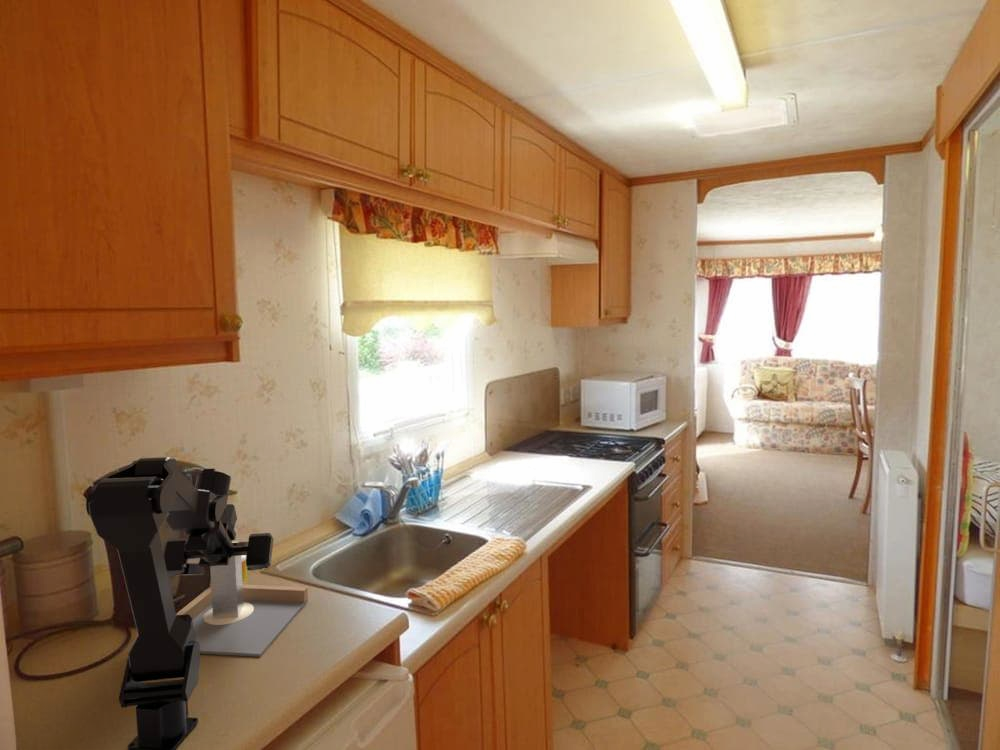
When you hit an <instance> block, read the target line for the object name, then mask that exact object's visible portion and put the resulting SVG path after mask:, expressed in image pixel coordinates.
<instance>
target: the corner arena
mask: <svg viewBox="0 0 1000 750" xmlns="http://www.w3.org/2000/svg"><path fill="white" fill-rule="evenodd" d="M308 593H309V591H308V587H307V586H284V585H282V586H281V585H264V584H263V585H261V584H248V585H243V602H244V606H243V608H242V610H241V612H240V614H239V616H238V617H235V618H223V619H213V608H212V590H211V585H210V586H209V587H208V588H207V589H205V590H204V591H202V593H200V594H199V595H198V596H196V597H195V598H194V599H193V600H191V601H190V602H189V603H188V604H187V605H186V606H184V607H183V608H182V609H180V610H179V611H178V612H177V613H176V615H185V614H189V615H190V616H191V618H192V621H193V628H194V631H195V633H196V635H195V638H196V641H198V642H199V645H200V654H203V655H204V654H205V655H221V656H222V655H223V656H239V657H240V656H241V657H260V658H261V657H262V656H263V655H264V654H265V653H266V651H267V650H268V649H269V648H270V647H271V645H272V644H273V643H274V642H275V641H276V639H277V638H278V637H279V636H280V635H281V633H282V632H283V631H284V630H285V629H286V628H287V627H288V625H289V624H290V623H291V622H292V621H293V620H294V618H295V617H296V616H297V614H299V613H300V612H301V610H302V609H303V608H304V607H303V606H306V605H307V603H308V602H307V601H309V596H308V595H309V594H308ZM306 602H307V603H306ZM302 607H303V608H302ZM301 608H302V609H301Z"/></svg>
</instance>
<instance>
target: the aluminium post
mask: <svg viewBox="0 0 1000 750" xmlns="http://www.w3.org/2000/svg"><path fill="white" fill-rule="evenodd" d="M209 567H210V568H209V569H210V571H209V572H210V584H211V585H210V586H211V590H212V608H213V619H223V618H235V617H238V616H239V614H240V612H241V610H242V608H243V606H244V602H243V583H242V563H241V555H240V556H231V558H230V559H229V564H228V565H221V566H209Z"/></svg>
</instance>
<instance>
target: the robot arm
mask: <svg viewBox="0 0 1000 750" xmlns="http://www.w3.org/2000/svg"><path fill="white" fill-rule="evenodd" d="M231 481H232V477H231V475H228V474H226V473H224V472H222V471H218V470H216V469H215V467H213V468H202V472H200V473H198V475H197V476H196V481H195V485H193V483H192V482H190V480H189V479H188V478H187V477H186V476H185V475H184V473H183V472H182V471H181V470H180V469H179V466H178V461H177V460H176V459H175V458H171V457H170V456H163V457H162V456H161V457H160V456H159V457H141V458H139V459H135V460H133V461H132V462H131V463H130V464H129V465H128V466H126V467H123V468H121V469H119V470H116V471H114V472H112V473H110V474H107V475H105V476H103V477H102V479H100V480H99V481H98V482H97V483H96V484H95V485H94V486H92V488H90V490H89V492H88V494H87V496H86V501H85V509H86V513H87V515H88V516H89V517H90V521H91V523H92V525H93V528H94V530H95V532H96V534H97V536H98V537H99V538H101V539H102V540H104V541H105V542H106V543H107V544H110V545H111V546H112V547H113V548H114V549H116V550H117V554H118V558H119V563H120V566H121V571H122V576H123V579H124V583H125V587H126V592H127V595H128V600H129V604H130V607H131V608H130V609H131V612H132V615H133V619H134V623H135V629H136V633H137V635H136V638H135V639H134V642H133V643H132V645H131V647H130V650H129V652H128V657H127V659H126V662H125V668H124V672H123V673H124V674H123V678H122V682H121V687H120V691H119V695H118V702H119V704H120V706H121V707H120V708H121V709H125V708H129V707H135V717H136V718H135V720H136V733H137V734H136V735H137V736H135V737H134V738H133V739H132V740H131V741H130V743H128V744H127V750H175V749H177V747H179V745H181V743H182V742H183V741H184V739H186V737H187V736H188V735H189V734H190V732H191V731H192V730H193V729H194V728H195V727H196V726H197V724H198V723H199V718H198V717H189V703H188V701H189V700H190V698H191V696H192V695H193V693H194V691H195V689H196V687H197V685H198V683H199V676H200V675H199V674H200V673H199V672H200V658H201V657H200V654H201V653H200V645H199V642H198V641H196V638H195V635H196V633H195V631H194V628H193V621H192V618H191V616H190V615H189V614H185V615H176V614H177V613H176V608H175V604H174V603H175V602H174V598H173V595H172V594H173V593H172V589H171V585H170V584H171V583H170V579H169V576H203V575H205V572H206V568H205V567H210V566H221V565H228V564H229V559H230V558H231V556H240V555H246V566H247V572H255V571H259V570H263V569H268V568H269V567H270V566H271V565H272V556H273V549H274V548H273V546H274V537H273V535H272V534H271V533H270V532H265V533H264V532H261V533H250V535H249V536H248V540H247V541H235V540H236V538H237V533H236V531H235V527H236V522H237V521H238V516H237V511H236V506H235V505H234V504H233V503H228V499H229V492H230V488H231V487H230V486H231ZM164 522H166V524H167V526H168V527H169V528H170V530H171V531H173V532H175V531H176V532H177V531H179V532H180V531H183V533H184V536H185V537H180V538H178V537H177V538H169V539H168V540H167V541H166V542H165V543H164V545H163V546H162V542H161V536H160V530H161V527H162V526H163V523H164ZM232 542H234V543H232ZM159 680H160V681H159Z"/></svg>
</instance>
